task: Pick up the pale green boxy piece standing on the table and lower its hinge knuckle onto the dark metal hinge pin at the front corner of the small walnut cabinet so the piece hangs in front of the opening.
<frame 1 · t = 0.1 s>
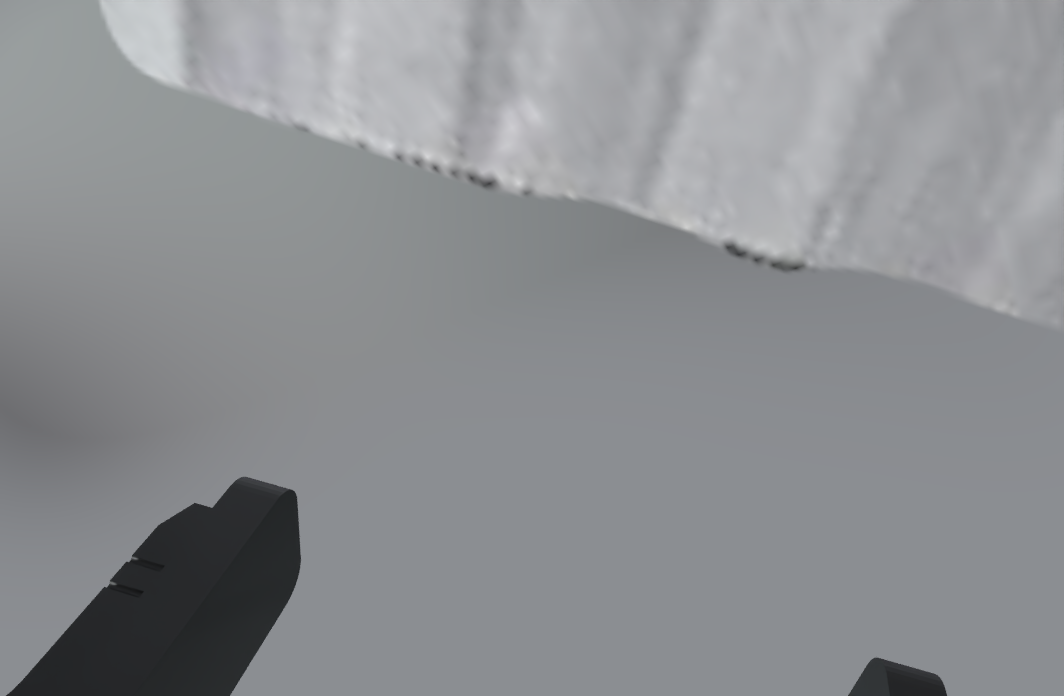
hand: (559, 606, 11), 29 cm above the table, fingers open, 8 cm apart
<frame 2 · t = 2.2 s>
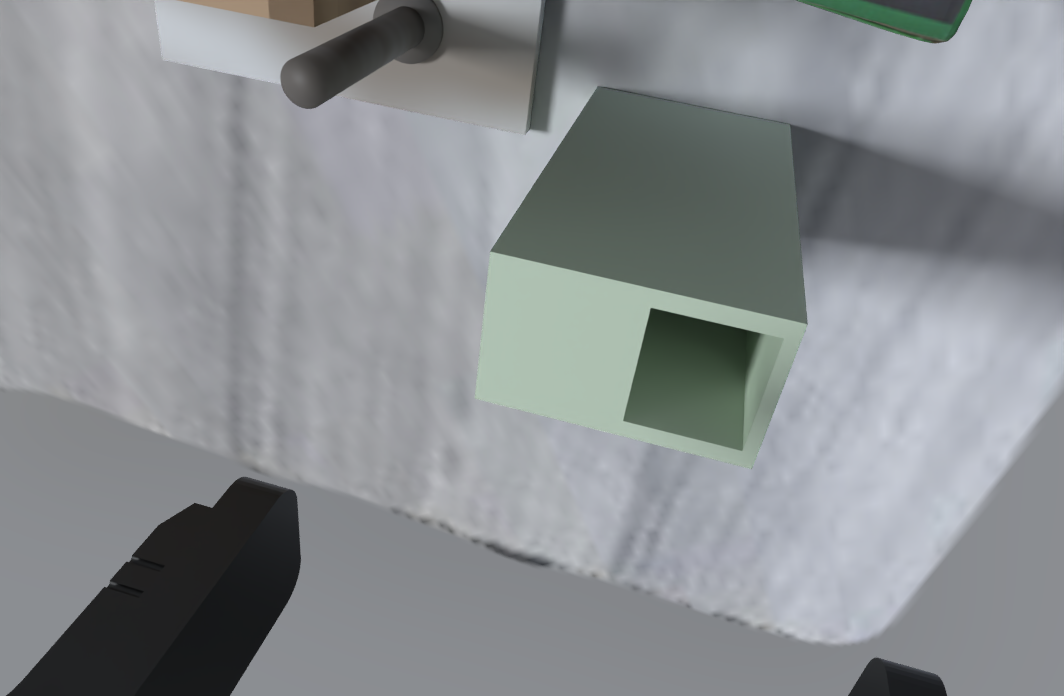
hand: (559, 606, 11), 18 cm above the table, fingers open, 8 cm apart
pale green boxy piece: (679, 160, 25), on the table
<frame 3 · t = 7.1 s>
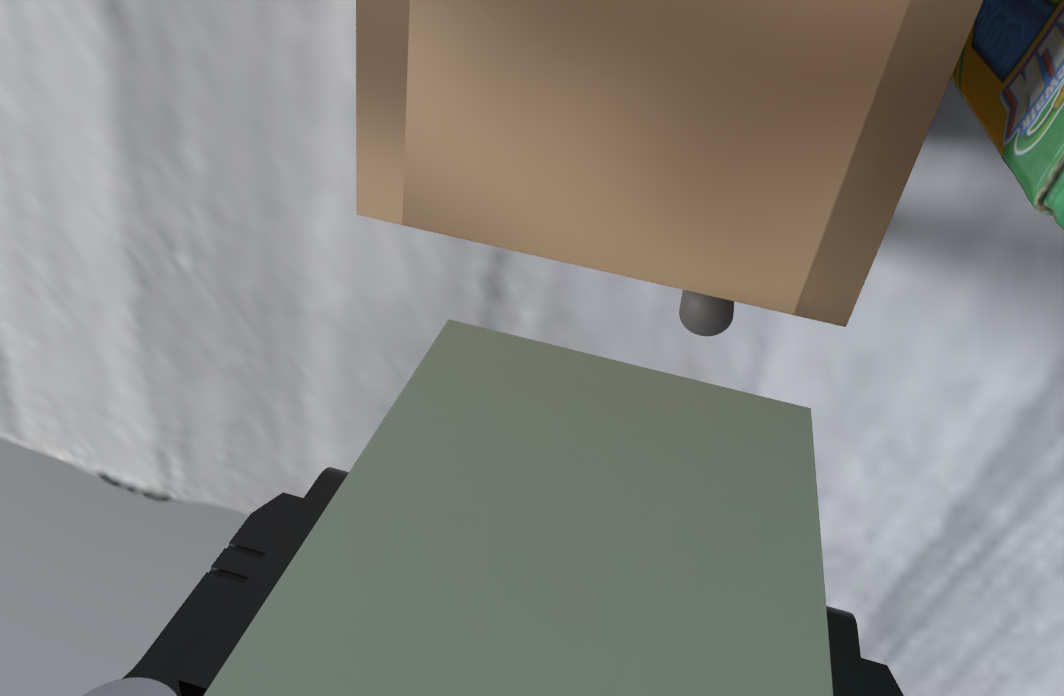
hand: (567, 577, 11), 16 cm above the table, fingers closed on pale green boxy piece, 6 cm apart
pale green boxy piece: (604, 445, 14), point 13 cm above the table, touching gripper
when the fingers open (4 cm above the table, at t = 9.8 s): pale green boxy piece stays where it is, resting on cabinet.
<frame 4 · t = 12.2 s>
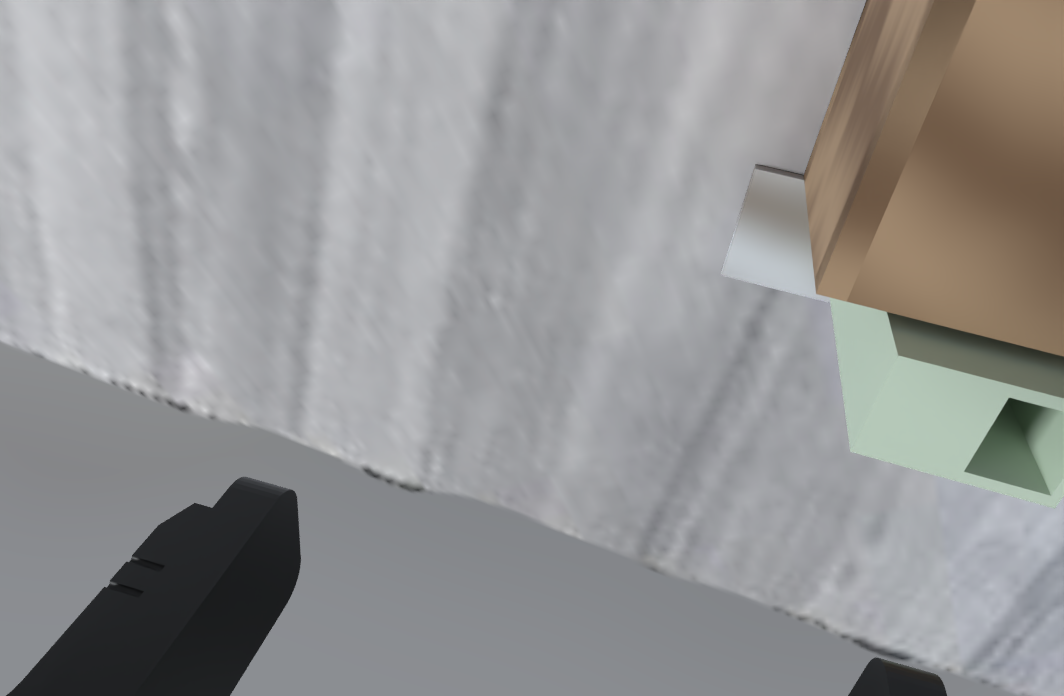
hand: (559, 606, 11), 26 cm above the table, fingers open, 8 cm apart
pale green boxy piece: (915, 262, 33), point 1 cm above the table, touching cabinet
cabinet: (970, 76, 29), on the table
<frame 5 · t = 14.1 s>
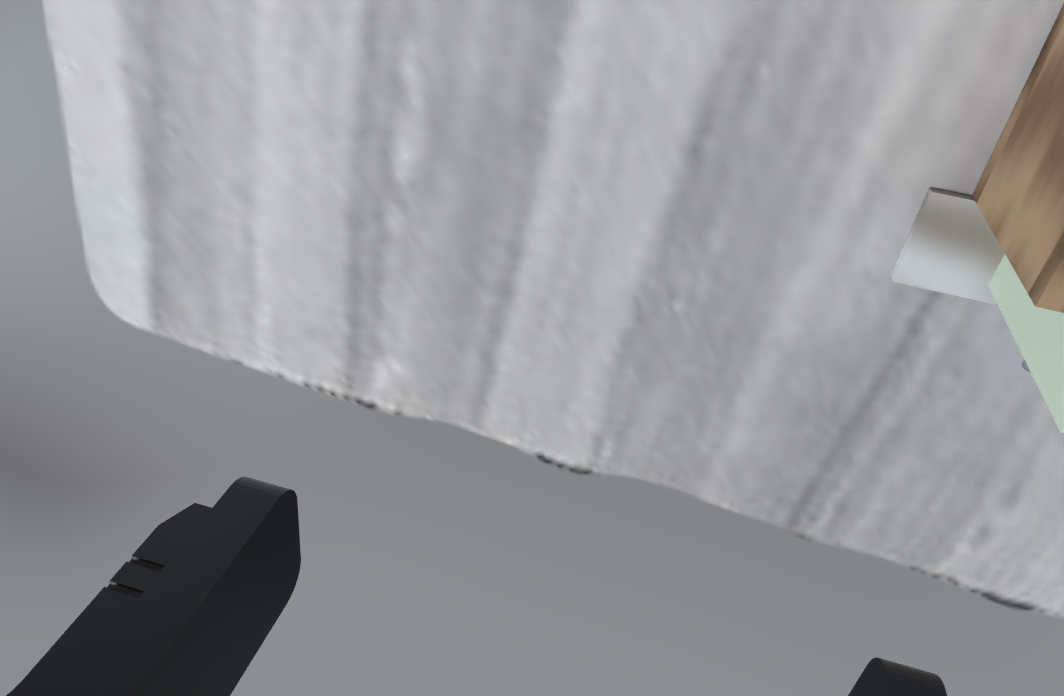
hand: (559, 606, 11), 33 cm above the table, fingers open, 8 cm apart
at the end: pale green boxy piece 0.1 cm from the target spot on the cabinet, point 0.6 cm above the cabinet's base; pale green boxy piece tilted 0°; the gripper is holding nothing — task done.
